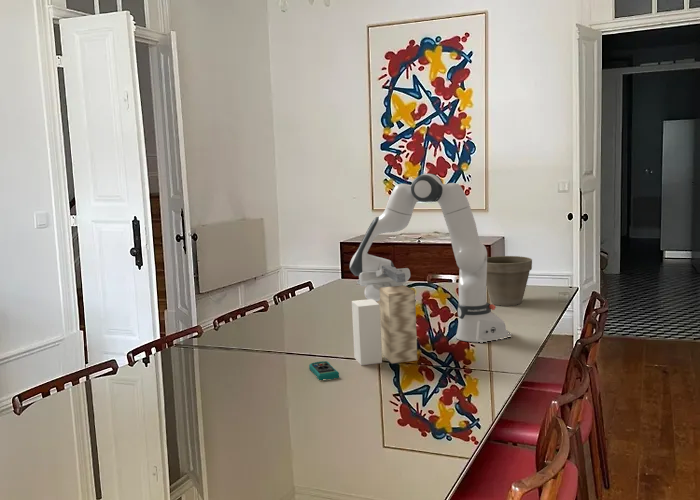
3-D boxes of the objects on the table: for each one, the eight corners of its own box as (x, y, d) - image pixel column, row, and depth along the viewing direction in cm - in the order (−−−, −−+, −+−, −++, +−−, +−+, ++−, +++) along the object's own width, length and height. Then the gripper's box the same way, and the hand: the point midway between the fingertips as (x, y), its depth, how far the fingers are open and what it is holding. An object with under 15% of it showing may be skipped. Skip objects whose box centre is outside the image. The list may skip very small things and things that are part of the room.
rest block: (374, 355, 267) (372, 298, 264) (382, 362, 257) (379, 304, 254) (354, 357, 265) (351, 300, 262) (361, 365, 255) (358, 306, 252)
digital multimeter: (328, 367, 256) (327, 359, 256) (339, 379, 242) (339, 371, 242) (308, 370, 254) (308, 362, 254) (319, 382, 240) (318, 374, 240)
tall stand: (407, 351, 270) (404, 285, 266) (417, 360, 258) (414, 291, 254) (382, 354, 267) (379, 287, 264) (391, 363, 256) (388, 293, 252)
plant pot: (493, 295, 359) (492, 253, 355) (540, 299, 344) (539, 256, 341) (471, 305, 339) (470, 261, 335) (520, 310, 324) (519, 264, 321)
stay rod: (389, 272, 272) (389, 265, 272) (405, 281, 253) (405, 273, 252) (382, 273, 271) (381, 265, 271) (397, 282, 252) (397, 274, 252)
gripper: (354, 276, 279) (361, 264, 266) (403, 272, 283) (412, 259, 271) (357, 291, 277) (363, 280, 264) (406, 286, 281) (415, 275, 269)
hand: (388, 269), depth 267 cm, fingers closed on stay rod, 3 cm apart
